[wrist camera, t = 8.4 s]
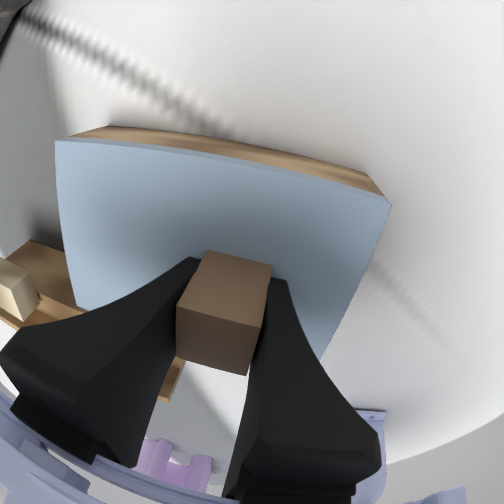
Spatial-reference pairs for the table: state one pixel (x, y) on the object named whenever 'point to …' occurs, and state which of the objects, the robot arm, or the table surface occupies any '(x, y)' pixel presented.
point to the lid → (213, 239)
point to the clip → (173, 466)
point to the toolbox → (54, 261)
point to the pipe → (8, 13)
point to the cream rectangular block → (17, 290)
